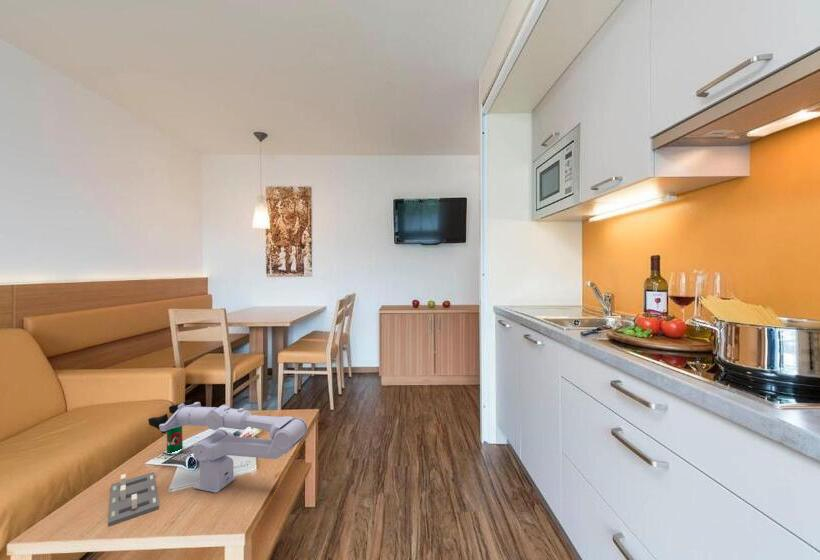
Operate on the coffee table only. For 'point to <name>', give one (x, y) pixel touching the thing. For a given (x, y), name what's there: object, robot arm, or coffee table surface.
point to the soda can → (174, 439)
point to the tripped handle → (134, 501)
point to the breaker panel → (123, 499)
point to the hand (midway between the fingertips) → (160, 415)
